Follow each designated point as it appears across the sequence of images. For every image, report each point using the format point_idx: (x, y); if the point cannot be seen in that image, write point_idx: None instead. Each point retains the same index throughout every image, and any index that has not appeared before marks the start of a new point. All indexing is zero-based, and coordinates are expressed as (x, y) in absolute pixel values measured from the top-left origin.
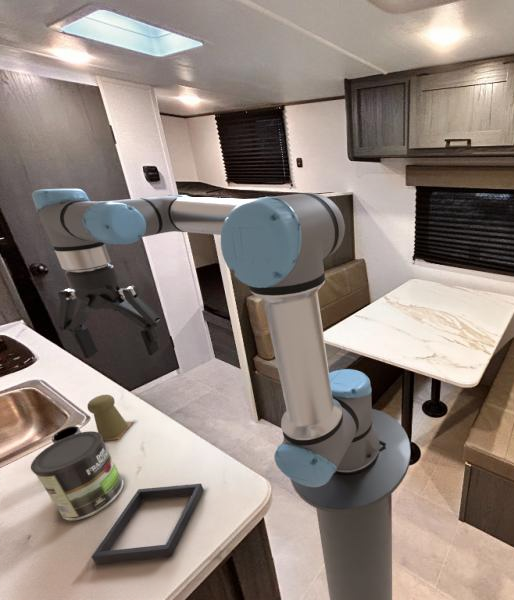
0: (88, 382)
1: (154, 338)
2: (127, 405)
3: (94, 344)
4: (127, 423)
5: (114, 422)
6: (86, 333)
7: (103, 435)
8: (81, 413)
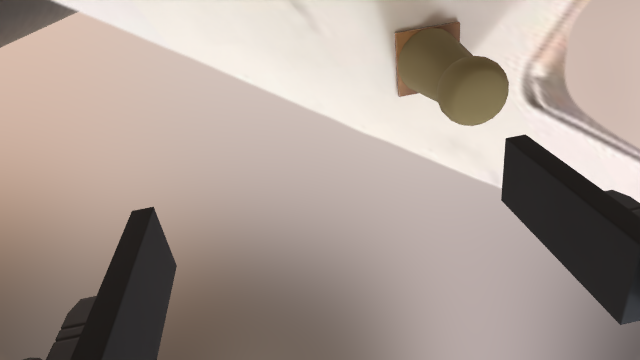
0: None
1: (66, 317)
2: (460, 153)
3: (529, 228)
4: (409, 89)
5: (419, 63)
6: (598, 276)
7: (435, 32)
8: (562, 114)
